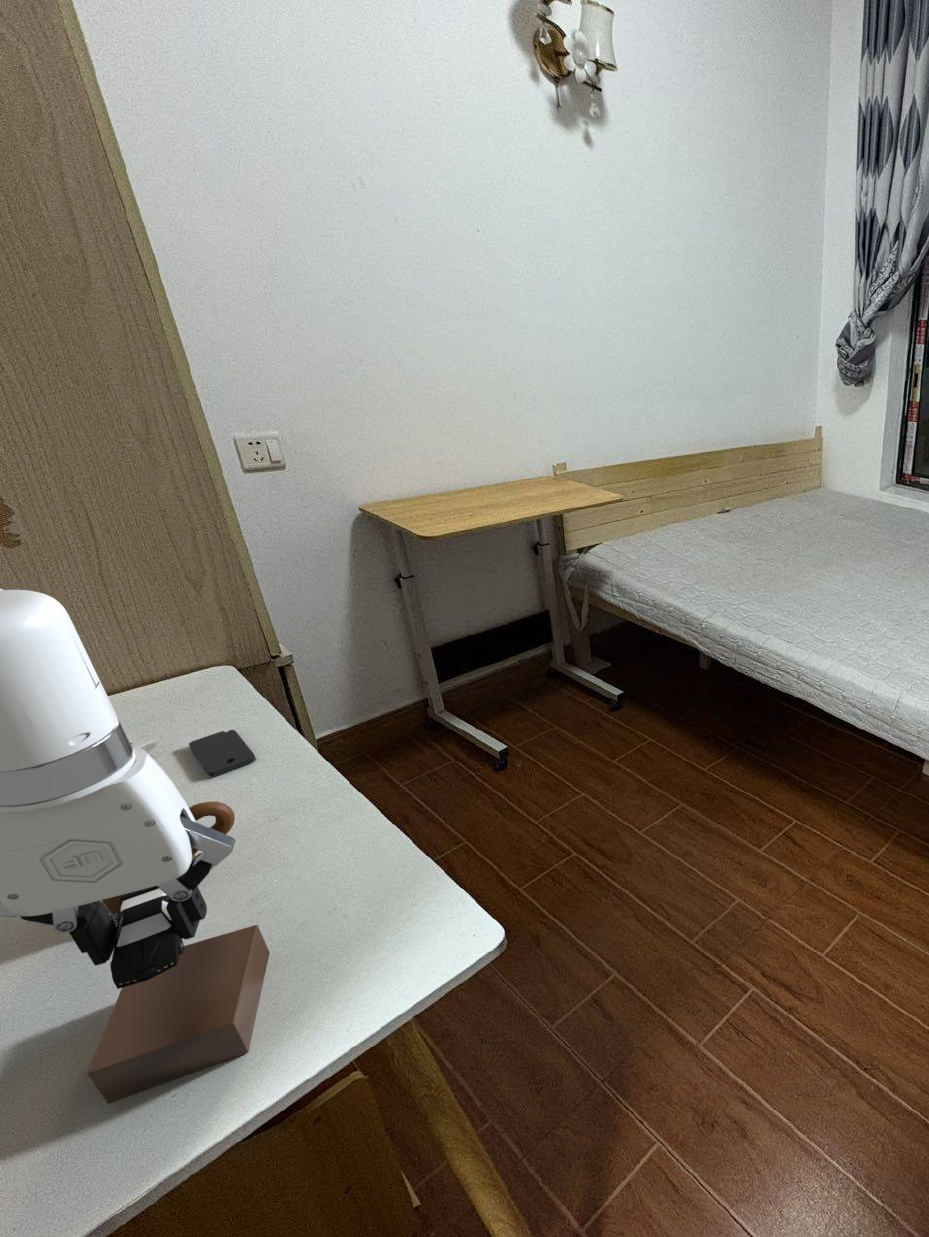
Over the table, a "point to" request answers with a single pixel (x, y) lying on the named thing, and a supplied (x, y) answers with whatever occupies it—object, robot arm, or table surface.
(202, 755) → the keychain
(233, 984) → the walnut block
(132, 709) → the table surface
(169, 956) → the toy car
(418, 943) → the table surface
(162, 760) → the table surface
